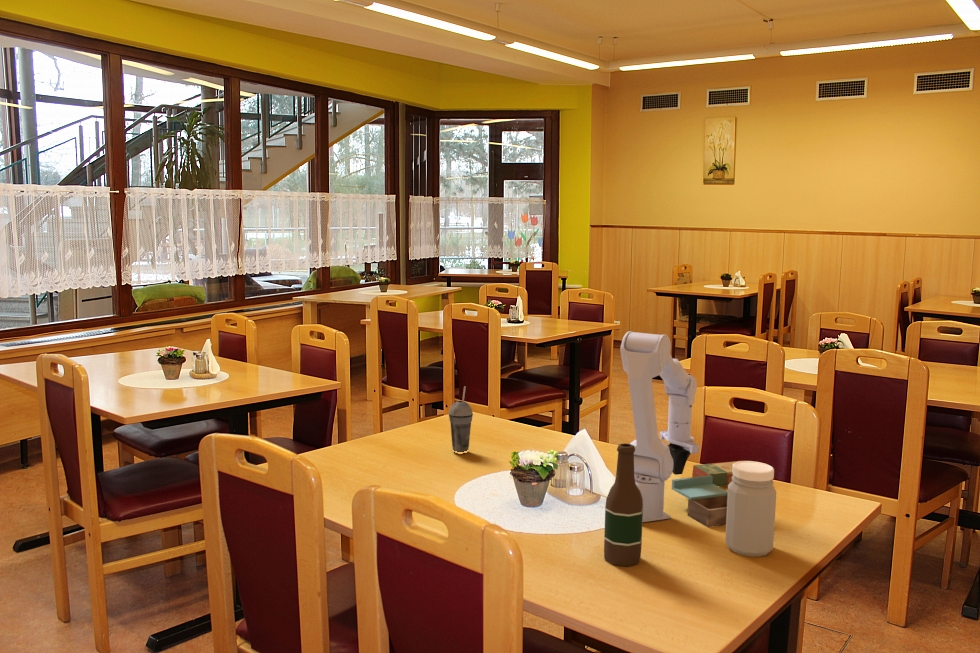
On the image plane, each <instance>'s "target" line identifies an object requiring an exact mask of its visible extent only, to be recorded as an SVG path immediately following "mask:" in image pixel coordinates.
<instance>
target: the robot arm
mask: <svg viewBox="0 0 980 653" xmlns="http://www.w3.org/2000/svg"><path fill="white" fill-rule="evenodd" d="M671 351H672V343H671V340H670V337H669V336H668V335H667V334H658V333H656V334H655V333H645V332H636V331H635V332H634V331H631V330H630V331H629V330H628V331H627V332H626V333H625V334H624V336H623V337H622V340H621V344H620V357H621V363H622V370H623V371H624V372H625V373H626V374H627V379H628V388H629V395H630V396H629V397H630V402H631V410H632V417H633V424H634V431H635V432H634V433H635V439H634V440H633V441H631V442H630V443H629V444H631V445H634V446H635V452H634V477H635V484H636V485H637V487H638V489H639V490H640V492H641V495H642V498H643V518H642V523H648V522H653V521H661V520H663V521H664V520H669V519H671V518H672V516H671V515H670V514H668V513H667V512H664V506H665V502H664V501H665V481H667V480H669V478H670V477H671V476H672V474H673V475H675V476H676V475H683V473H684V470H685V466H686V463H687V460H688V459H689V457H690V455H691V454H692V455H693V454H694V455H695V454H699V453H700V445H699V444H697V443H696V442H695V437H693V436H692V421H693V420H692V417H693V416H692V414H693V404H694V403H695V398H696V397H695V396H696V392H697V389H698V383H697V379H696V378H695V377H694V376H693V375H691V374H688V372H687V371H686V369H685V368H684V366H683V365H682V363H681V362H680V360H679V358H673V357H672V354H671ZM658 376H659V377H660V378H661V379H662V381H663V386H664V389H665V391H664V392H665V394H666V395H667V396H668V412H667V416H668V418H667V430H664V431H663V430H662V431H661V430H660V432H659V431H658V422H657V421H658V420H657V414H656V407H655V406H656V405H655V398H654V388H653V378H656V377H658ZM662 440H664V441H667V443H669V444H666V443H665V442H664V441H662Z"/></svg>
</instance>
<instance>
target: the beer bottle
mask: <svg viewBox="0 0 980 653" xmlns="http://www.w3.org/2000/svg"><path fill="white" fill-rule="evenodd" d="M616 451H617V452H618V453H617V462H616V473H615V479H614V483H613V485H612V486H611V487H610V489H609V491H608V493H607V496H606V498H605V506H604V507H605V509H604V510H605V511H604V536H603V537H604V542H603V559H604V560H605V561H606V562H607V563H609V564H611V565H612V566H617V567H624V568H628V567H633V566H638V565H639V564H640V561H641V555H642V544H643V542H642V540H643V522H642V518H643V498H642V495H641V492H640V490H639V489H638V487H637V485H636V484H635V477H634V452H635V446H634V445H631V444H630V443H619V444H618V445H617V449H616Z"/></svg>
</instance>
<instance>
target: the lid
mask: <svg viewBox="0 0 980 653" xmlns="http://www.w3.org/2000/svg"><path fill="white" fill-rule="evenodd" d="M712 481H713V476H711V475H708V476H699V477H692V476H691V477H685V478H684V477H682V478H673V479H671V490H673V491H674V492H675V493H678V494H680V495H681V496H682V497H685V498H687V500H688V499H690V500H694V499H702V498H710V497H718V496H726V495H728V490H726V489H724V488H722V487H721V486H719V487H718V486H716V485H714V484H712Z"/></svg>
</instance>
